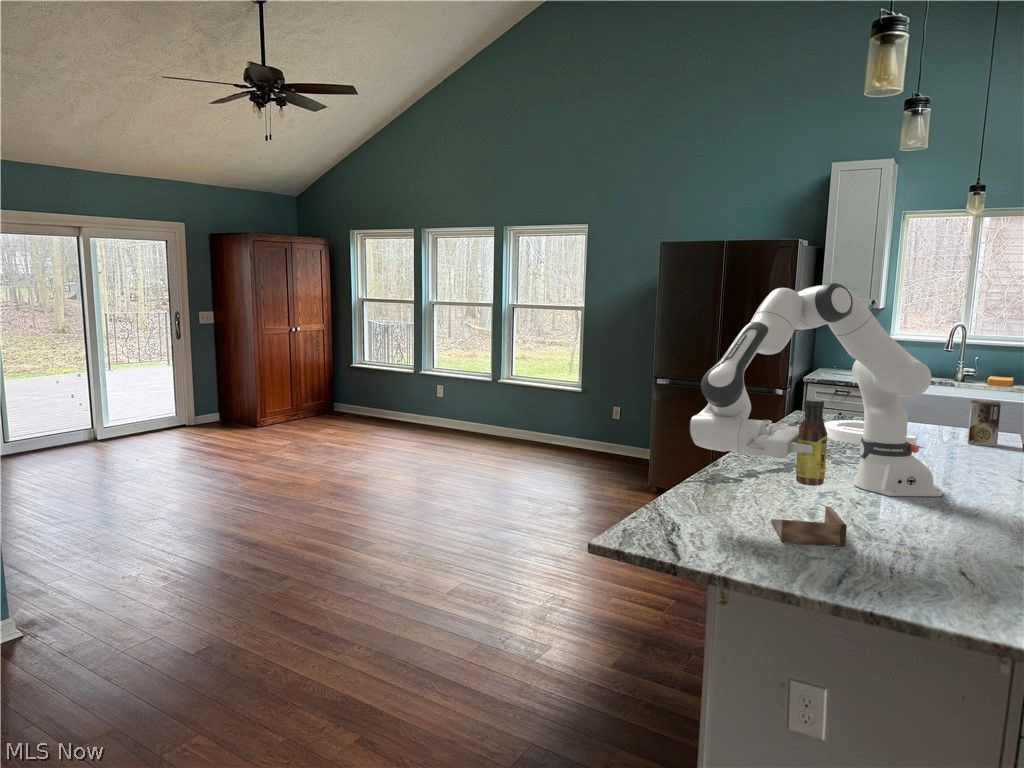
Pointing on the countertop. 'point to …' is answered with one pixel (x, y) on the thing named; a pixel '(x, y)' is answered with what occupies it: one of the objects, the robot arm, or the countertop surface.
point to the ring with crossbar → (851, 431)
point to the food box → (984, 423)
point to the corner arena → (813, 530)
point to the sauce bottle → (814, 433)
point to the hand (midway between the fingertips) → (816, 445)
